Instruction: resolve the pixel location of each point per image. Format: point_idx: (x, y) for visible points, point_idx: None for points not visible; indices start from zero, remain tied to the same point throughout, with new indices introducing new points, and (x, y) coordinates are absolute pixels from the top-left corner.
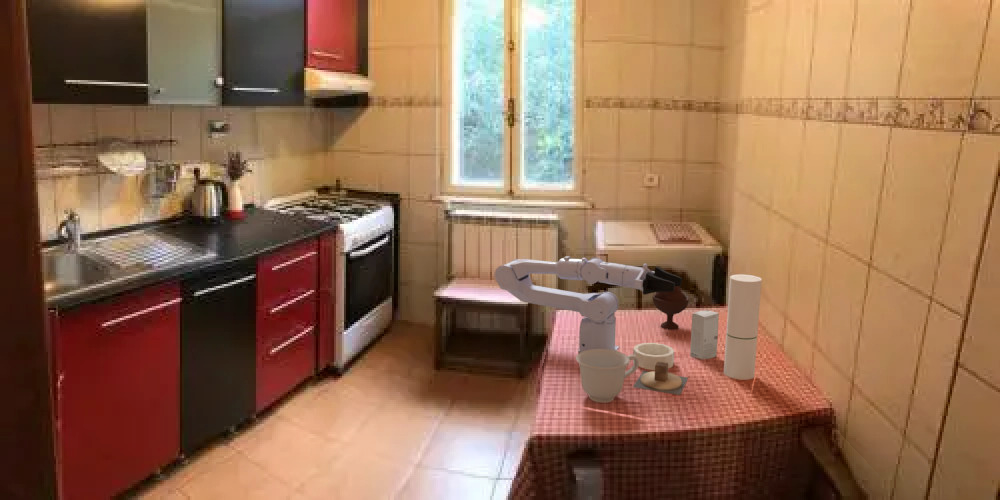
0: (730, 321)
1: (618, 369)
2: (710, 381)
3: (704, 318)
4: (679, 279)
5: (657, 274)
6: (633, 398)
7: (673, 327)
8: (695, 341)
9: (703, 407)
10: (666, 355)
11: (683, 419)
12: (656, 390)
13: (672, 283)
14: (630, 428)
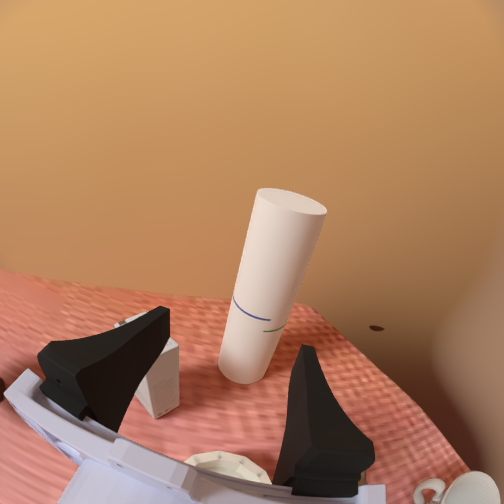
0: (286, 306)
1: (479, 478)
2: (281, 406)
3: (178, 347)
4: (165, 318)
5: (97, 392)
6: (395, 500)
7: (1, 387)
8: (163, 396)
9: (377, 414)
10: (258, 468)
11: (417, 429)
12: (364, 477)
13: (314, 353)
14: (460, 468)
